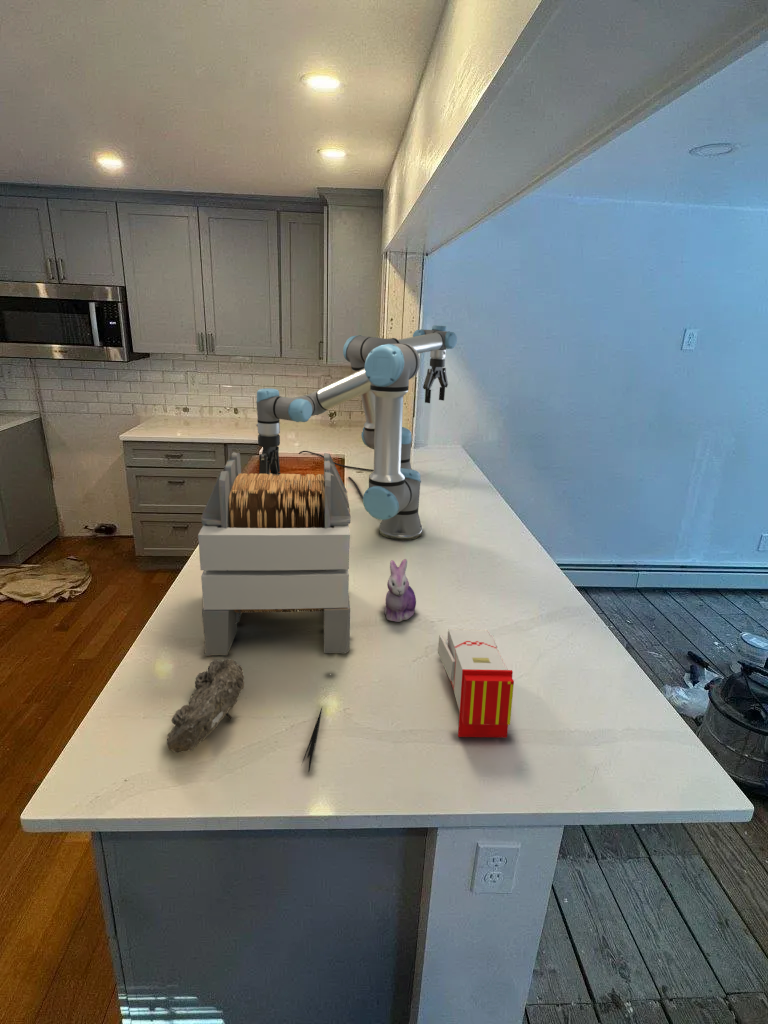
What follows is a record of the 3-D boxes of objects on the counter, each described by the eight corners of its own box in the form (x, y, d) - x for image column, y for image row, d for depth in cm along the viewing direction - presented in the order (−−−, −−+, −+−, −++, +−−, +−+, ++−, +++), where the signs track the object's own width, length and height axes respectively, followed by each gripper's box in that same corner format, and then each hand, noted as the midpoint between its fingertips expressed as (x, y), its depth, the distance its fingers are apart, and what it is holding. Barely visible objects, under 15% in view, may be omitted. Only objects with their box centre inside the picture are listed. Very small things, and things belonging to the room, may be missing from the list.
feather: (331, 679, 122) (336, 673, 122) (307, 777, 96) (313, 769, 95) (324, 675, 122) (329, 669, 121) (298, 772, 95) (304, 764, 95)
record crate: (226, 586, 157) (217, 442, 143) (344, 585, 161) (346, 445, 147) (202, 658, 125) (189, 482, 112) (350, 654, 129) (354, 483, 115)
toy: (488, 613, 130) (523, 677, 101) (484, 667, 133) (517, 744, 104) (435, 612, 130) (455, 676, 101) (432, 666, 133) (451, 743, 103)
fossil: (192, 660, 117) (244, 628, 112) (224, 691, 120) (276, 661, 115) (142, 746, 98) (202, 712, 93) (182, 779, 101) (242, 748, 96)
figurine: (392, 627, 141) (395, 572, 136) (374, 608, 149) (376, 556, 144) (425, 619, 145) (429, 566, 140) (405, 601, 154) (408, 550, 149)
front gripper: (268, 427, 207) (270, 487, 215) (247, 439, 187) (249, 504, 195) (288, 429, 206) (289, 488, 214) (268, 441, 187) (270, 506, 194)
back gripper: (430, 360, 269) (427, 404, 276) (456, 357, 288) (453, 399, 295) (417, 358, 273) (414, 402, 280) (444, 356, 292) (440, 398, 299)
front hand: (270, 496), depth 204 cm, fingers closed on tin, 8 cm apart
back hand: (434, 401), depth 288 cm, fingers open, 13 cm apart
